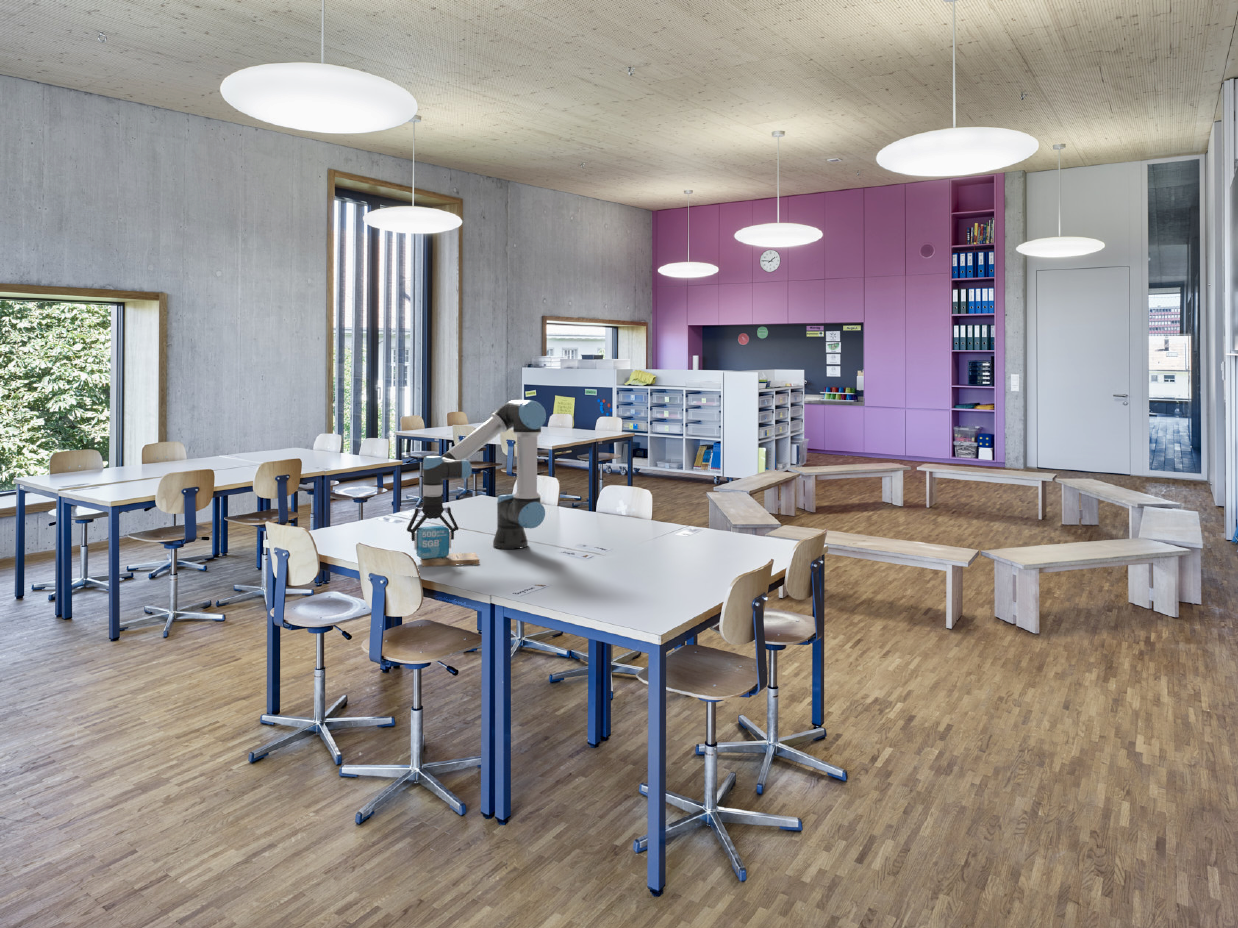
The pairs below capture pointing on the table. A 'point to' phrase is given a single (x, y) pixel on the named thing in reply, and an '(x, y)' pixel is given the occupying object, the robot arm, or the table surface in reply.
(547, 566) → the table surface
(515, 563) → the table surface
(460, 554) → the oak board
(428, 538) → the data package
